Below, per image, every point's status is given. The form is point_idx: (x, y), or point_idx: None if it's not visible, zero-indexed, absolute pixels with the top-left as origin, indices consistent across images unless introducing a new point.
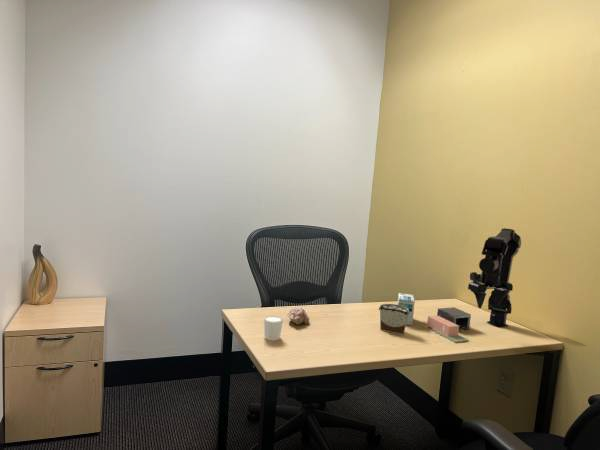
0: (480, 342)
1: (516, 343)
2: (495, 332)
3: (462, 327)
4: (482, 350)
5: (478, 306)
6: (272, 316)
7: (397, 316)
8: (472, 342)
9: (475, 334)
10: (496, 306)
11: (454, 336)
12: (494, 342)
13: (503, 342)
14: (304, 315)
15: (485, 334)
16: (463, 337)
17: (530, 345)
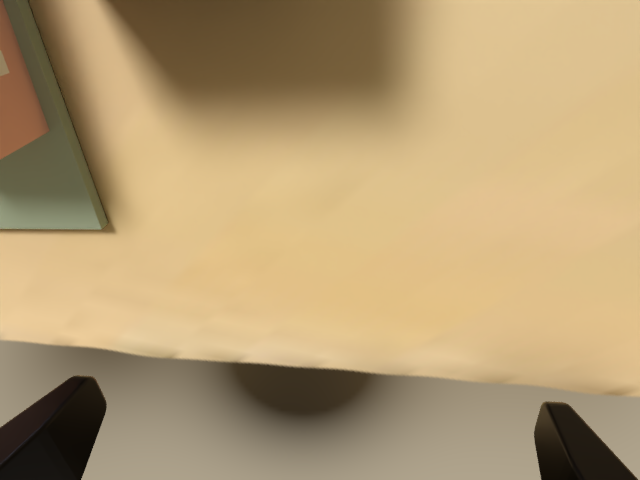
0: (200, 260)
1: (487, 339)
2: (579, 100)
3: None
4: (129, 351)
5: (59, 397)
6: None
7: None
8: (133, 246)
9: (284, 103)
10: (538, 426)
11: None
12: (319, 286)
13: (396, 303)
14: None
15: (397, 126)
16: (82, 180)
17: (558, 385)
